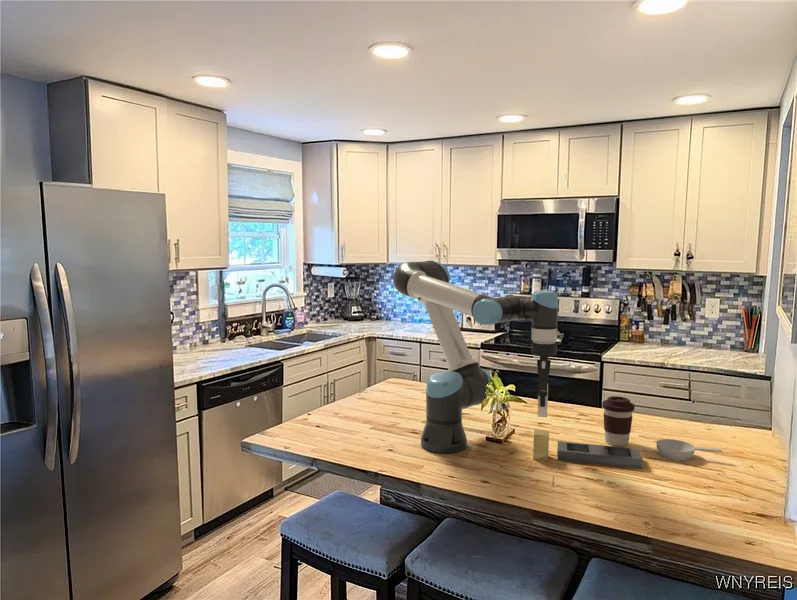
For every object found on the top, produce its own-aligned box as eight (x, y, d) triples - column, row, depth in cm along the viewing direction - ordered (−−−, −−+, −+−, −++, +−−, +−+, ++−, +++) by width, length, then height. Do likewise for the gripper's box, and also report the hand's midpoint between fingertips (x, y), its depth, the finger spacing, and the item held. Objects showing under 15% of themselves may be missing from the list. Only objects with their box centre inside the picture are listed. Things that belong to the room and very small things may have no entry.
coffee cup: (635, 449, 177) (637, 404, 176) (603, 447, 179) (605, 402, 178) (629, 438, 187) (631, 395, 185) (598, 436, 189) (600, 393, 187)
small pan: (654, 447, 179) (655, 436, 179) (717, 455, 173) (718, 443, 172) (657, 459, 169) (657, 447, 169) (723, 468, 163) (724, 456, 162)
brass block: (533, 459, 169) (533, 434, 168) (533, 454, 173) (534, 429, 173) (548, 461, 168) (549, 435, 167) (548, 455, 172) (549, 430, 171)
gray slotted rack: (557, 460, 169) (557, 450, 168) (557, 450, 177) (557, 441, 176) (642, 469, 162) (642, 459, 162) (638, 458, 170) (638, 448, 170)
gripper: (557, 349, 154) (555, 423, 156) (557, 335, 178) (555, 399, 180) (529, 348, 156) (528, 421, 158) (533, 334, 180) (531, 398, 182)
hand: (542, 410), depth 169 cm, fingers open, 13 cm apart
